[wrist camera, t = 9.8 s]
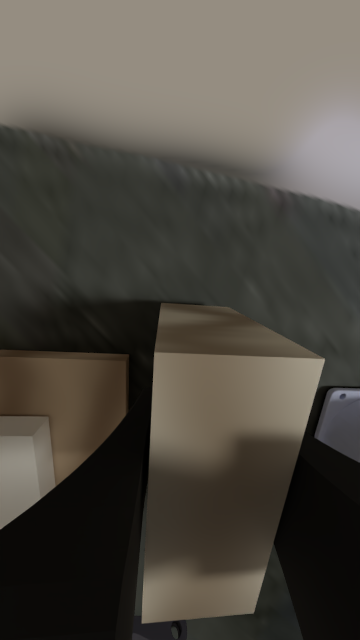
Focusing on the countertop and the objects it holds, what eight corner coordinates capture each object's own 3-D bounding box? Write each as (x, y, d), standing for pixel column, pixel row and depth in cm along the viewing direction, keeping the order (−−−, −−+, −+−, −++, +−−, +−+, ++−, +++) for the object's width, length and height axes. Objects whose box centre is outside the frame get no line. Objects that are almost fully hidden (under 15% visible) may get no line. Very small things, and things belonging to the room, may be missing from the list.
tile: (32, 436, 11) (-87, 436, 10) (47, 555, 13) (-49, 561, 12) (49, 414, 12) (-53, 414, 12) (60, 524, 15) (-24, 528, 14)
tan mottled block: (228, 307, 11) (324, 358, 4) (209, 443, 14) (253, 613, 7) (161, 302, 11) (154, 352, 4) (153, 443, 13) (141, 623, 6)
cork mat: (129, 354, 13) (126, 361, 12) (126, 540, 17) (124, 556, 16) (-143, 344, 11) (-173, 350, 10) (-73, 550, 15) (-89, 568, 14)
